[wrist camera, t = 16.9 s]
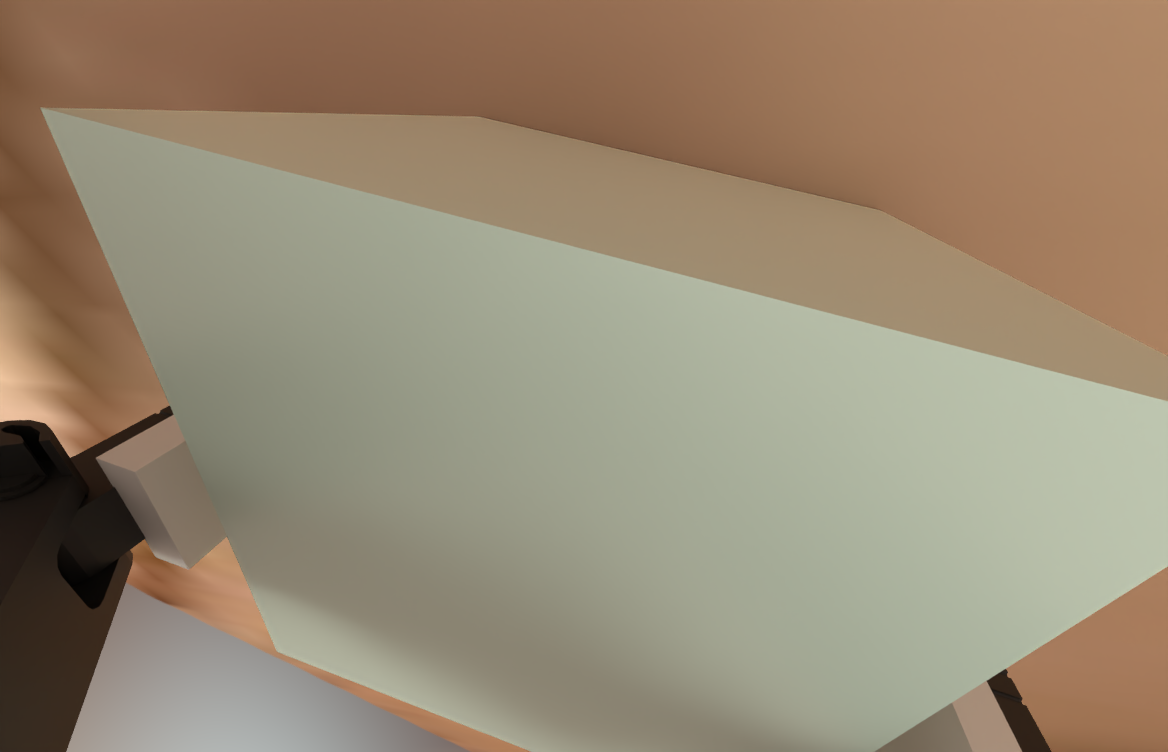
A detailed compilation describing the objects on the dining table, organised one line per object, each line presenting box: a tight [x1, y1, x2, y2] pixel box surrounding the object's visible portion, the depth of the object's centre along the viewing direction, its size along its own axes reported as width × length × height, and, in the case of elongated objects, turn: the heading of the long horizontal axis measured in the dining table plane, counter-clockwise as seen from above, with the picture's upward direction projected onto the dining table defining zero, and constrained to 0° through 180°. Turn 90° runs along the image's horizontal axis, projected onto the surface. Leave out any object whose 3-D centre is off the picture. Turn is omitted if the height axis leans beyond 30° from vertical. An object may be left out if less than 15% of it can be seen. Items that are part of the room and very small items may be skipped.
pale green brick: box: [40, 107, 1168, 752], centre depth 10 cm, size 10×10×9 cm
